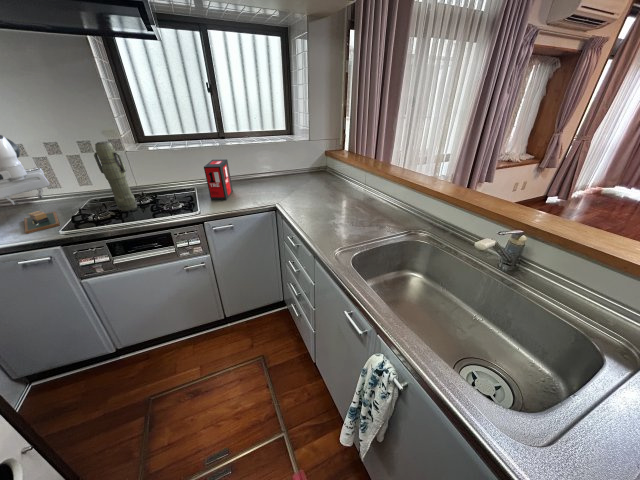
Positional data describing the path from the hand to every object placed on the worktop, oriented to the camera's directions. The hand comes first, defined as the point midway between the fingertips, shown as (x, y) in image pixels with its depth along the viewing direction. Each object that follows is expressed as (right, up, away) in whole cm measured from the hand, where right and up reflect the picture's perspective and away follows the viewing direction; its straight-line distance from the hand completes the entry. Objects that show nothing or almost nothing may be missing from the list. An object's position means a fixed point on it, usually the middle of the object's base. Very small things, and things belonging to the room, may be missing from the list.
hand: (28, 201), depth 127 cm
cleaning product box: (+79, +9, +38) cm, 88 cm away
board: (0, -10, +6) cm, 12 cm away
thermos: (+32, -1, +22) cm, 39 cm away
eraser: (+1, -9, +5) cm, 10 cm away
